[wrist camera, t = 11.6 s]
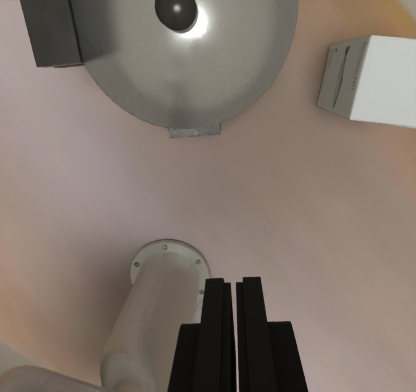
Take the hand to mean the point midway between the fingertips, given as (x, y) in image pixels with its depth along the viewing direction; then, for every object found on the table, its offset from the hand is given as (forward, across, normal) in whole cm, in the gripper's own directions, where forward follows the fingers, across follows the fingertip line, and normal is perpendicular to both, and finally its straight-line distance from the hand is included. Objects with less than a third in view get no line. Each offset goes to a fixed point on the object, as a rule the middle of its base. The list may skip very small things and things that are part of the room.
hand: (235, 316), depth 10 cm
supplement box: (+35, -15, -5) cm, 39 cm away
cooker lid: (+23, +5, -12) cm, 27 cm away
